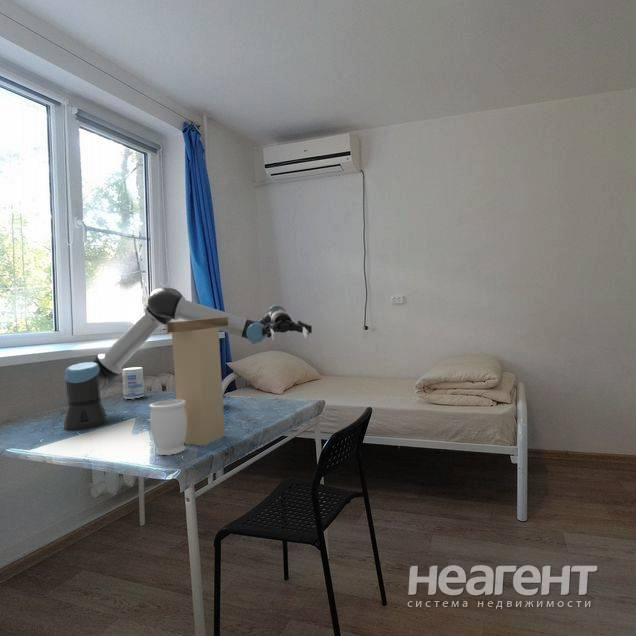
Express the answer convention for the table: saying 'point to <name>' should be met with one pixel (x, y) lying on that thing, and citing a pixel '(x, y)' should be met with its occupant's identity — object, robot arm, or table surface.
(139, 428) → the table surface
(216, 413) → the carton
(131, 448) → the table surface
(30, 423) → the table surface
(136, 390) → the supplement tub
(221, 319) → the brown rectangular bar
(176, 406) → the jar
